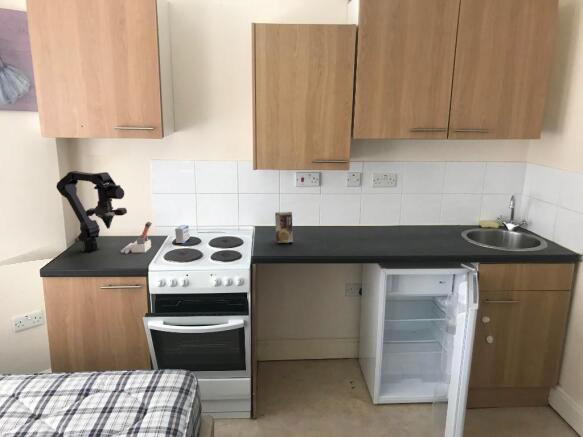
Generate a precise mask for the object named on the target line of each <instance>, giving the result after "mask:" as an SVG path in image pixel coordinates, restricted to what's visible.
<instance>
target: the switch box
mask: <svg viewBox="0 0 583 437" xmlns="http://www.w3.org/2000/svg"><path fill="white" fill-rule="evenodd" d="M141 236H142V234H141V235H139V237H137V238H136V240H135V241H134V242H132V243H133V244H131V253H146V252H147V251H149V249H151V248H152V241H151V239H149V235H148V234H147V235H146V238H145V239H144V238H141Z"/></svg>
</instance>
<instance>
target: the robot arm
mask: <svg viewBox="0 0 583 437" xmlns="http://www.w3.org/2000/svg"><path fill="white" fill-rule="evenodd" d="M79 181H82V182H90V183H92V185H95V186H94V187H93V190H97V198H98V201H97V205H96V206H95V207H91V208H89V209H87V210H86V208H84V205H83V203H82V202H81V200H80V198H79V196H78V194H77V192H78V191H77V190H78V188H77V184H78V183H79ZM56 189H57V191H58V193H59V194H60V196H63V197H64V198H65V199H66V200H67V201H68V204H69V205H70V207H71V208H72V211H73V212H74V214H75V216H76V217H77V219H78V221H79V223H80V225H79V230H80V233H79V235H78V236H77V238H78V241H79V242H81V243H82V247H83V248H82V249H81V250H80V251H81V252H84V253H93V252H95V251H98V250H100V247H98V242H97V239H96V238H99V235H100V231H101V230H100V225H99V224H98V222H97V220H96V219H91V218H90V217H93V215H95V217H97V218H99V219H101V220H102V222H103V223H104V225H105V228H106V229H111V228H110V227H111V225H112V221H113V220H114V217H115V216H116V217H117V216H118V217H119V216H124V215H126V214H128V210H127V208H126V207H117V208H115V209H114V206H113V205H112V201H113V200H122V199H124V197H125V191H124V189H123V188H122V187H121V185H120V184H116V182H115V181H114V180H113V178H112V177H111V175H110V174H109V172H106V171H104V172H97V173H96V172H95V173H93V172H84V171H77V170H73V171H69V172H67V174H66V175H65V176H63V177H62V178H61V179H59V181H57V183H56Z"/></svg>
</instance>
